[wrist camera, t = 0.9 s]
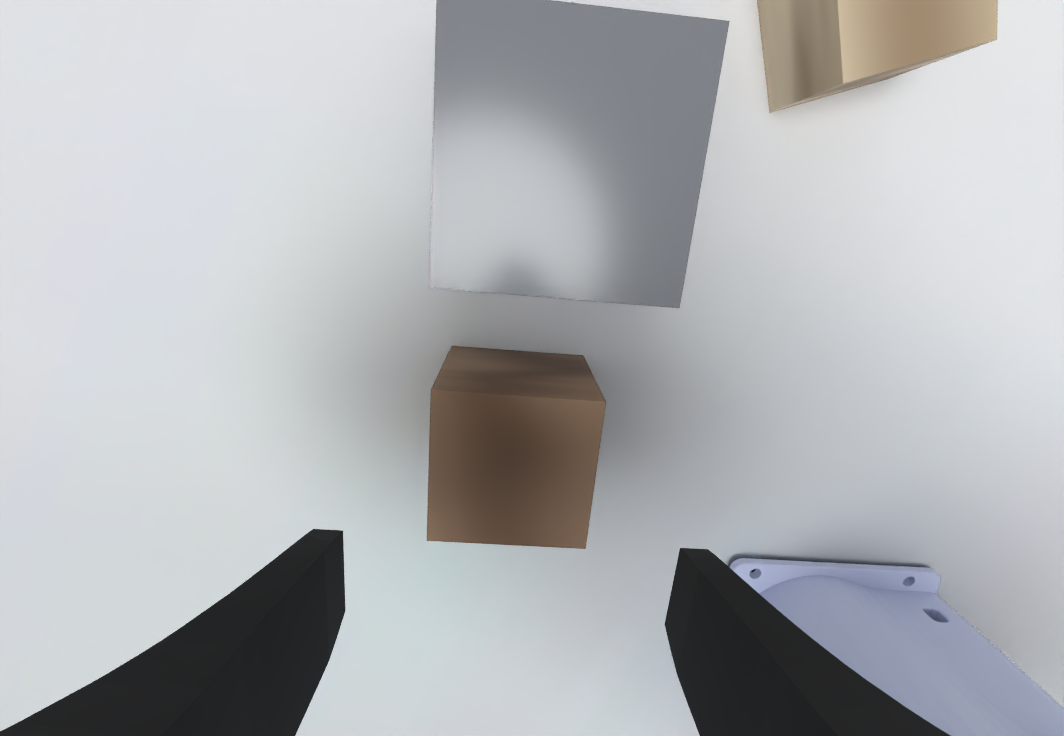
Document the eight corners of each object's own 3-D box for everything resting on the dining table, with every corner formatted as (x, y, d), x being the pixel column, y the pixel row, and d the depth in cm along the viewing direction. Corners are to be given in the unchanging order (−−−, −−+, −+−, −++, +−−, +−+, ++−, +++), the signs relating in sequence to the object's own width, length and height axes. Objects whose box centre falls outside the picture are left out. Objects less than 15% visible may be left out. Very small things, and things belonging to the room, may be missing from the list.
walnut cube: (582, 354, 19) (605, 401, 14) (568, 471, 21) (585, 548, 16) (451, 345, 19) (431, 389, 14) (447, 463, 20) (426, 540, 15)
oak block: (879, -61, 15) (1000, -152, 12) (885, 79, 17) (996, 39, 13) (753, -23, 16) (830, -100, 12) (768, 113, 17) (842, 83, 13)
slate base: (697, 49, 16) (729, 21, 14) (657, 296, 18) (679, 308, 16) (448, 22, 16) (436, -13, 13) (440, 278, 18) (429, 287, 16)
